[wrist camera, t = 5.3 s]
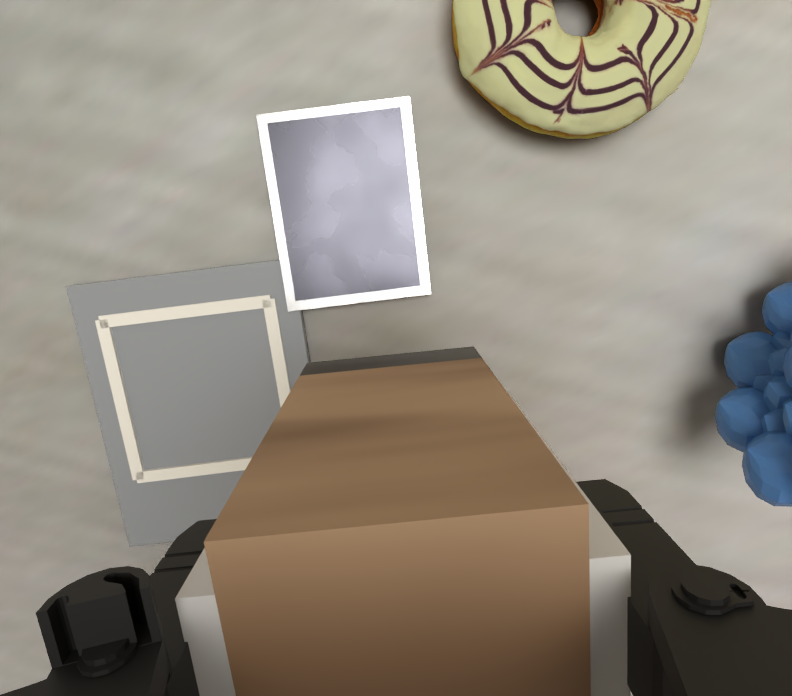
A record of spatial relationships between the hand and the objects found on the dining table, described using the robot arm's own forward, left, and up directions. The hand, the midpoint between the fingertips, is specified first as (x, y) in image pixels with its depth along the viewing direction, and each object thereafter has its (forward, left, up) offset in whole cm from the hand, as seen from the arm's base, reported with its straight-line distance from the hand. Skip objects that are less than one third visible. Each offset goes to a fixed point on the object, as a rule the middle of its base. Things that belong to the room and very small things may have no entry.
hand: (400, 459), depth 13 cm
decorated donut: (+14, -10, -14) cm, 22 cm away
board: (-2, +10, -13) cm, 17 cm away
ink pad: (+7, +1, -13) cm, 15 cm away
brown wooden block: (0, 0, -1) cm, 1 cm away
